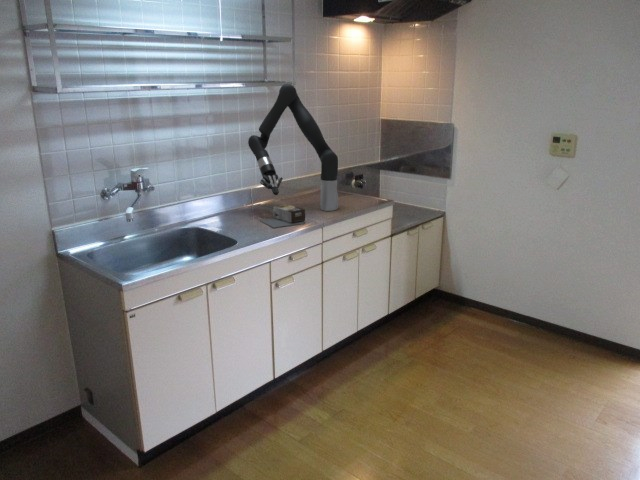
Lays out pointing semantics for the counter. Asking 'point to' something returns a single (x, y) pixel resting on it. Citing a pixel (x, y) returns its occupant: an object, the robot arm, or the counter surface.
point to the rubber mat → (279, 223)
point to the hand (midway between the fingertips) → (276, 194)
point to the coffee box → (289, 213)
